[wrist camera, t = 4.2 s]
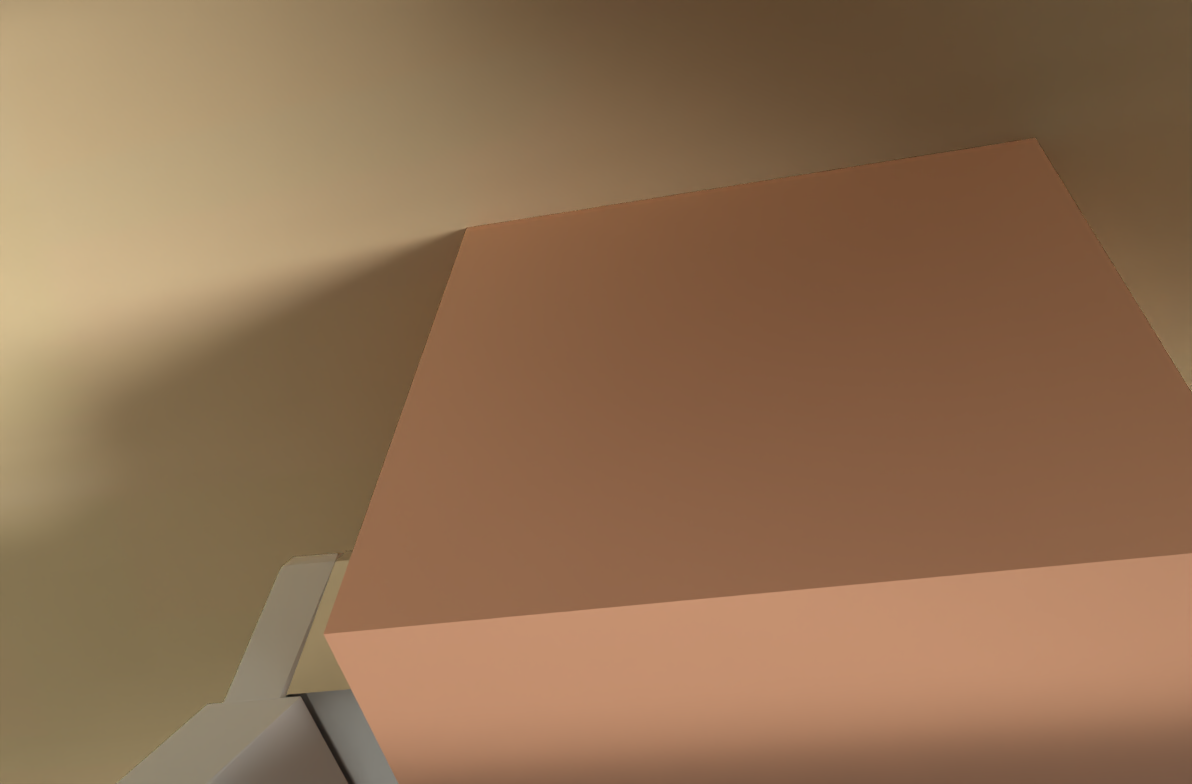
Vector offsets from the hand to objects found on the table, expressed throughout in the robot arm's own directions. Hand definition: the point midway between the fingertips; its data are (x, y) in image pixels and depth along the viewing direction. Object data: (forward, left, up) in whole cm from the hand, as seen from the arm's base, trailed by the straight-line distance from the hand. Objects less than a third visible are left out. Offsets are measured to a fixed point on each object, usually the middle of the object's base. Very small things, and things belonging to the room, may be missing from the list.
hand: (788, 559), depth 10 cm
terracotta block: (0, 0, -2) cm, 2 cm away
